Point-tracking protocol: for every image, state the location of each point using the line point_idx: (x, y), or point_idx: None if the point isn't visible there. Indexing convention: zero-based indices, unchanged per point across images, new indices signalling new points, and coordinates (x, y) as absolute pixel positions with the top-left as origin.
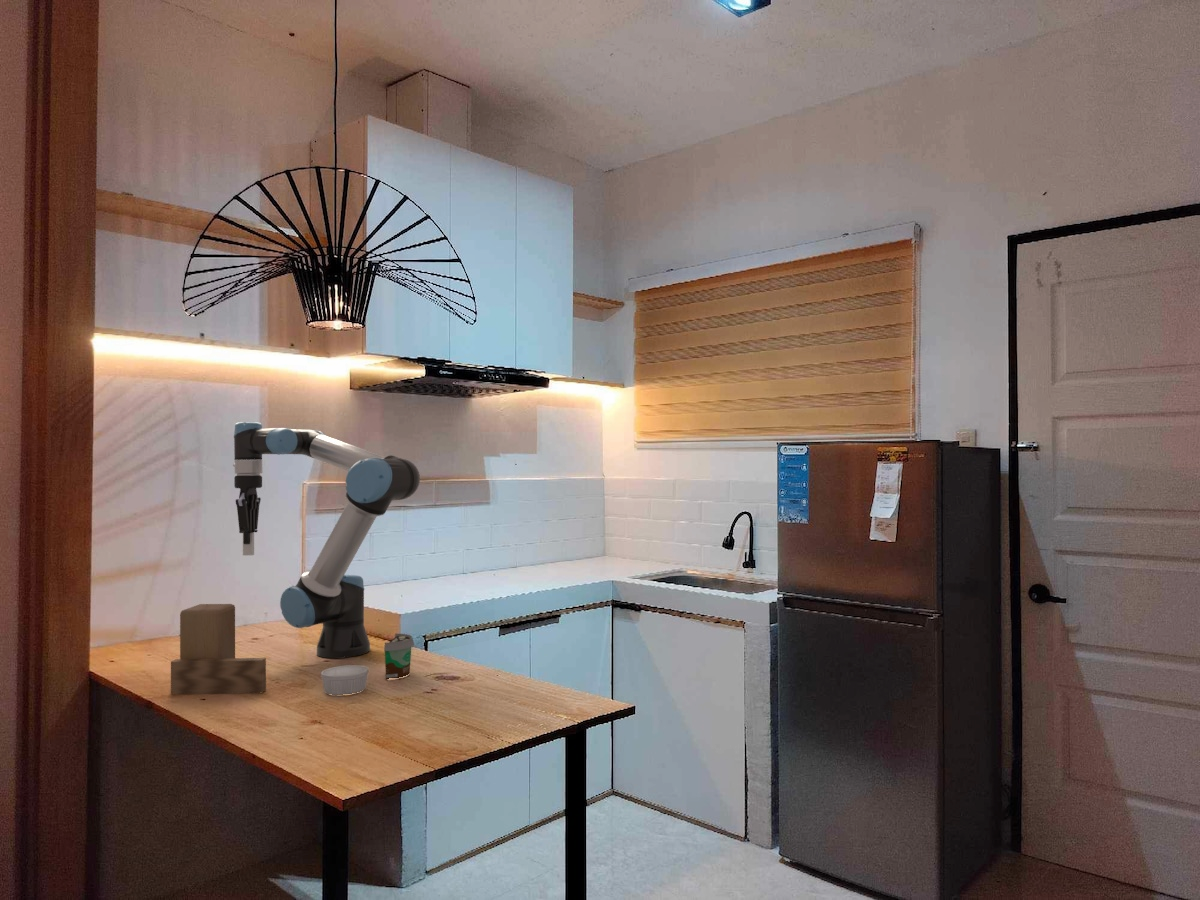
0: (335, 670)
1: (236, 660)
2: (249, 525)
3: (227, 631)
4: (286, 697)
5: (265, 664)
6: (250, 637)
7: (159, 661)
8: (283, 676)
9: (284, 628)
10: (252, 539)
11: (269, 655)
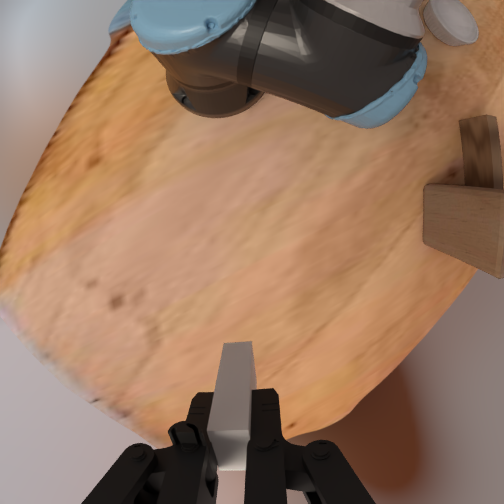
0: (454, 27)
1: (500, 155)
2: (284, 483)
3: (498, 189)
4: (475, 88)
5: (481, 116)
6: (110, 315)
7: (296, 372)
8: (396, 116)
9: (45, 286)
10: (243, 397)
11: (247, 206)
